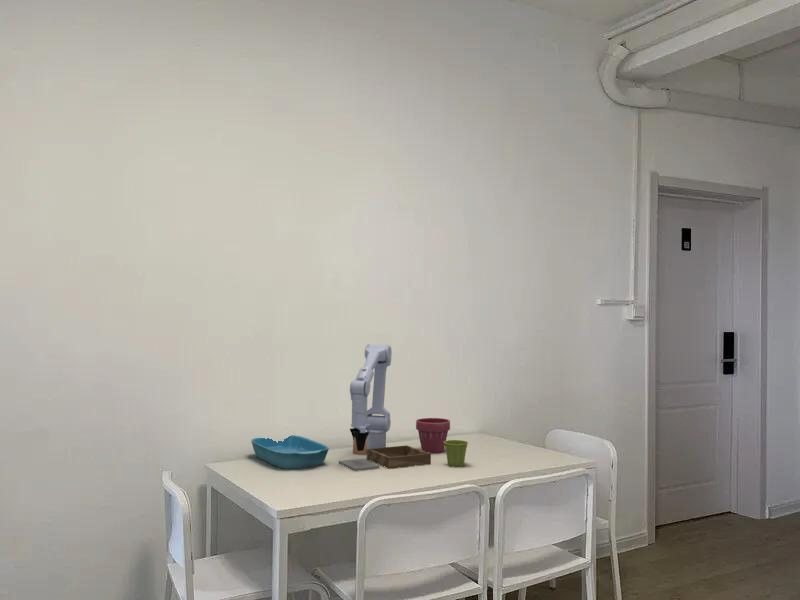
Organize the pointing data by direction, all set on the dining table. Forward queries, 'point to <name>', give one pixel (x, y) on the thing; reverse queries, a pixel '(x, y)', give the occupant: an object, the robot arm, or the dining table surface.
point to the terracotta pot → (357, 450)
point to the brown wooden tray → (398, 456)
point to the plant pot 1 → (432, 433)
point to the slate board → (358, 464)
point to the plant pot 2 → (455, 452)
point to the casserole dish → (290, 452)
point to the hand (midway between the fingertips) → (358, 449)
